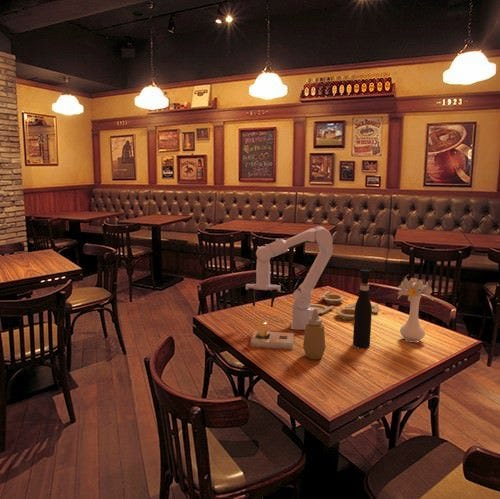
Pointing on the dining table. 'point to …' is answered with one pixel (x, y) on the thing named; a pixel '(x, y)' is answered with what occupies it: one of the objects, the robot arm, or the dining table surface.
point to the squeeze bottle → (314, 337)
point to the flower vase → (413, 308)
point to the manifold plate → (274, 340)
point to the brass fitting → (262, 330)
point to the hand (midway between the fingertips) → (262, 306)
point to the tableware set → (343, 312)
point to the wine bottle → (363, 313)
